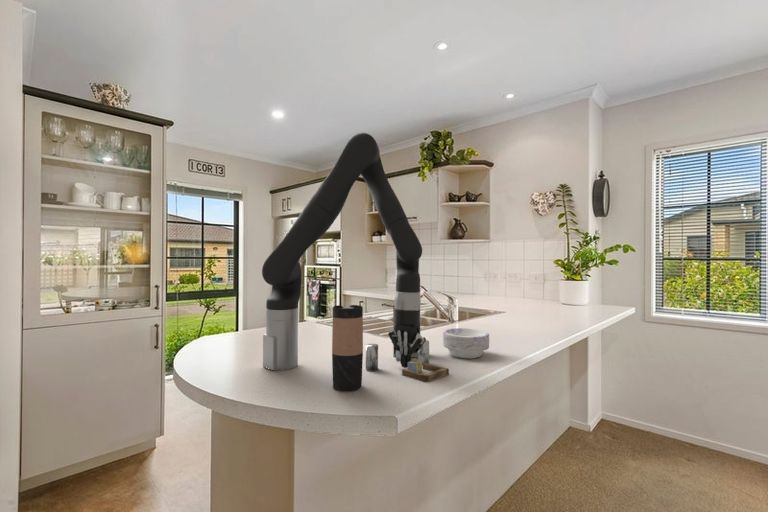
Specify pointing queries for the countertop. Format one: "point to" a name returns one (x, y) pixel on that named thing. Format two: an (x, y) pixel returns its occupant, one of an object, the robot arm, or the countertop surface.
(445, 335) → the marble bowl
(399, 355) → the block
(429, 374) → the tray
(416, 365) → the alphabet block
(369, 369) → the spacer
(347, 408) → the countertop surface
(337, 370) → the travel mug
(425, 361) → the spacer
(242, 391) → the countertop surface
